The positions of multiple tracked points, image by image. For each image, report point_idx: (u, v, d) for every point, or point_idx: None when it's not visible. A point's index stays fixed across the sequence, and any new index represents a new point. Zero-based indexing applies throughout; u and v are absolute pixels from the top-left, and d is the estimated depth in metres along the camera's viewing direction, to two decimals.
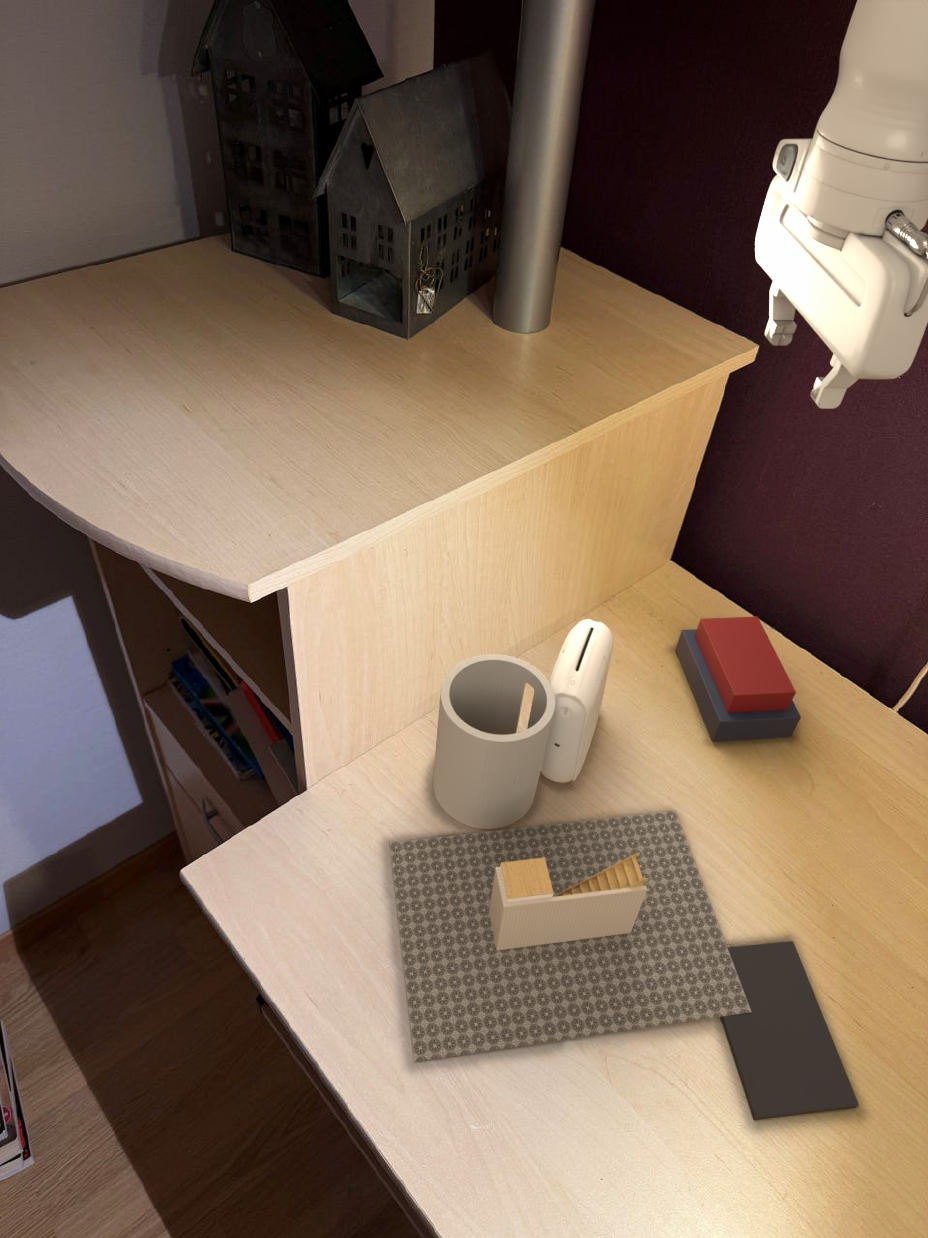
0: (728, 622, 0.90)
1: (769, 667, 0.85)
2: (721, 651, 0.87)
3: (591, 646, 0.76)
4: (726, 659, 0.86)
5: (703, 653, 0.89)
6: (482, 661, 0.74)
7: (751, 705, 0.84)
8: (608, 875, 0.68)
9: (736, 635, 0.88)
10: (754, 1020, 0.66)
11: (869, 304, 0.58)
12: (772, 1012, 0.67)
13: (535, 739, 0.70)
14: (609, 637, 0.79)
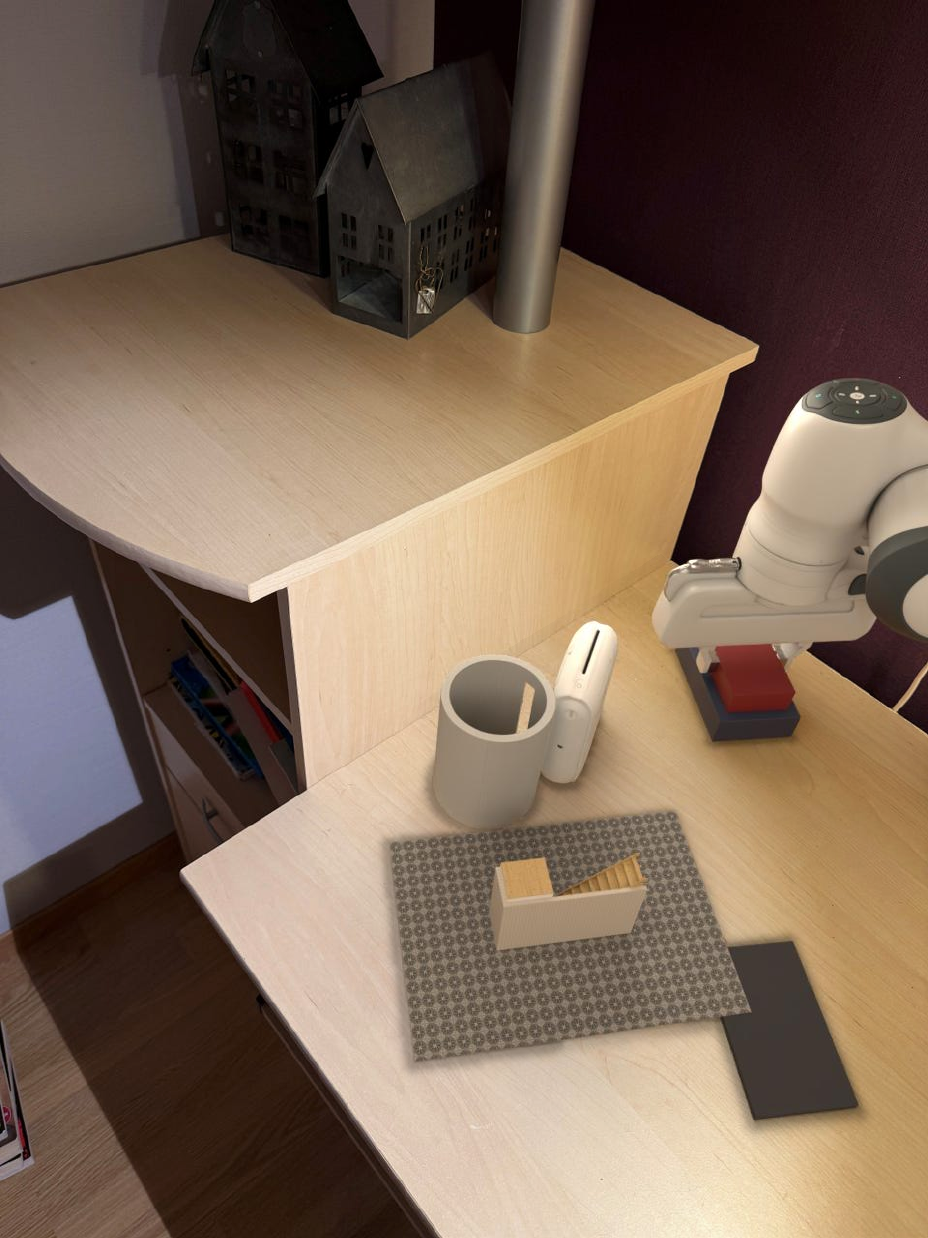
0: None
1: (768, 667, 0.85)
2: (721, 651, 0.87)
3: (598, 649, 0.76)
4: (726, 659, 0.86)
5: None
6: (482, 661, 0.74)
7: (751, 705, 0.84)
8: (608, 875, 0.68)
9: None
10: (754, 1020, 0.66)
11: None
12: (772, 1012, 0.67)
13: (535, 739, 0.70)
14: (615, 640, 0.79)
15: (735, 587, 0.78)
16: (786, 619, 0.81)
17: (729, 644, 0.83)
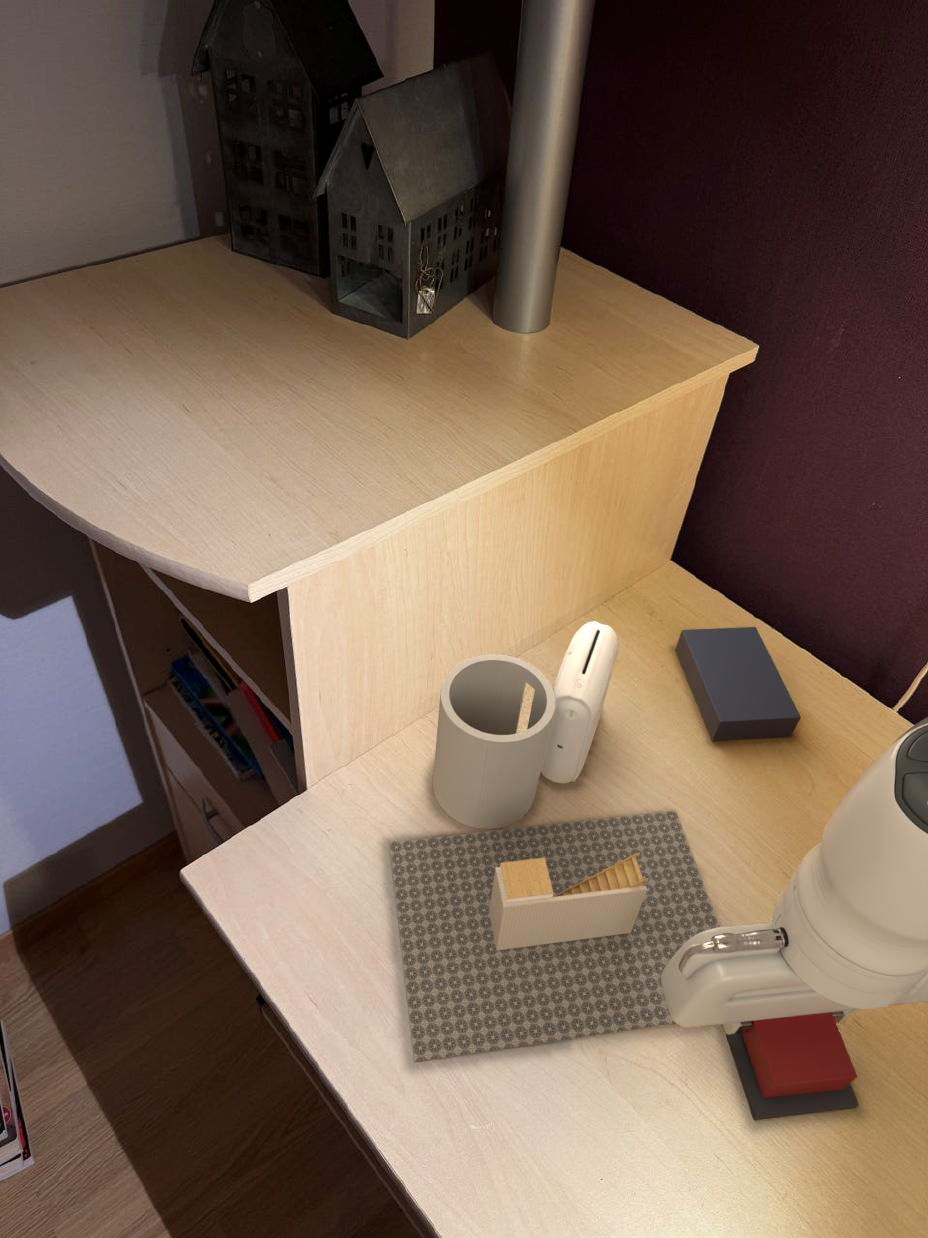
0: None
1: (819, 1031, 0.63)
2: None
3: (598, 649, 0.76)
4: None
5: None
6: (482, 661, 0.74)
7: (796, 1090, 0.62)
8: (608, 875, 0.68)
9: None
10: None
11: None
12: None
13: (535, 739, 0.70)
14: (615, 640, 0.79)
15: (779, 971, 0.55)
16: None
17: None
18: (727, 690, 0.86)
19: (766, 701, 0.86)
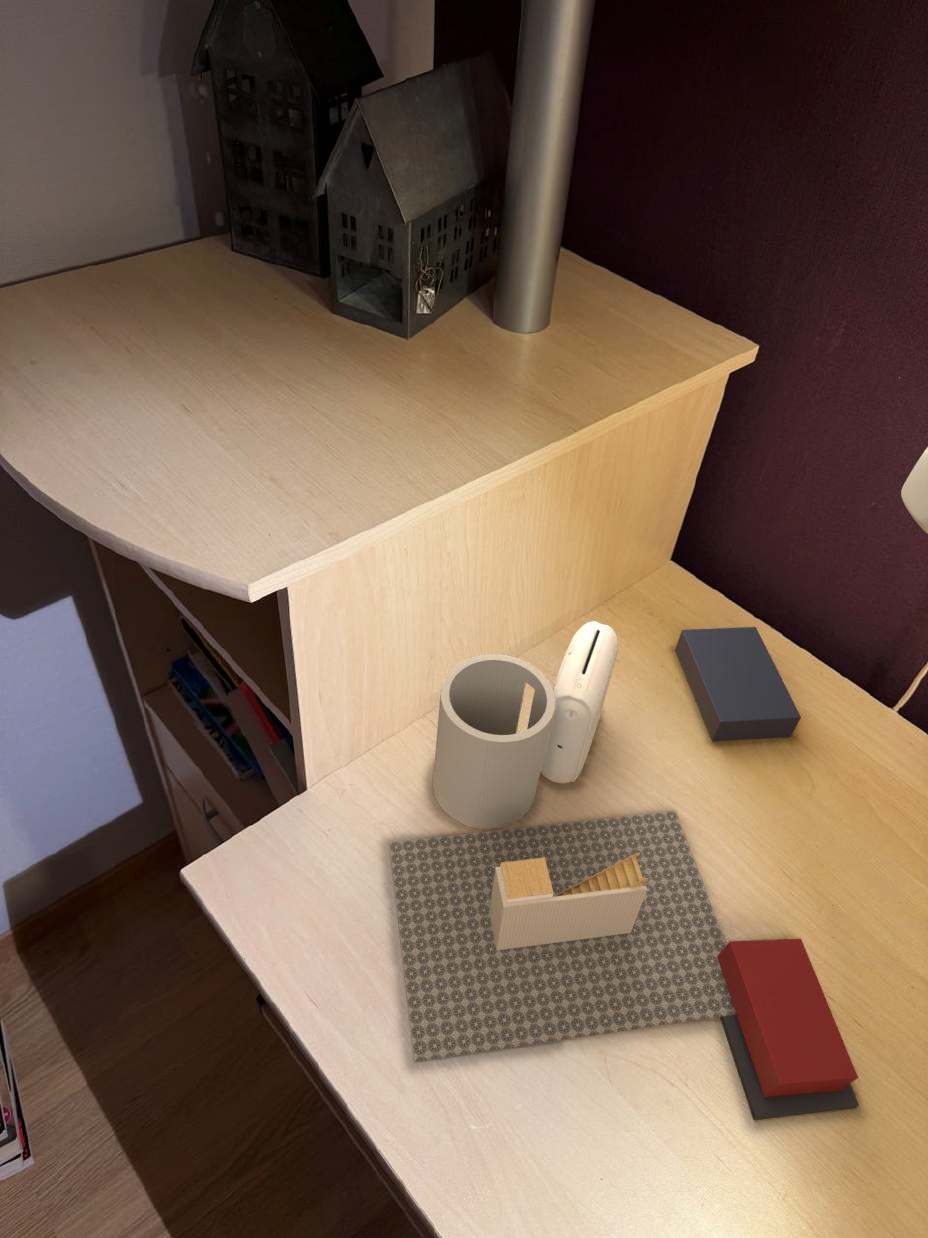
0: (765, 949, 0.67)
1: (821, 1032, 0.64)
2: (758, 1001, 0.64)
3: (598, 649, 0.76)
4: (766, 1016, 0.64)
5: (730, 990, 0.67)
6: (482, 661, 0.74)
7: (797, 1090, 0.62)
8: (608, 875, 0.68)
9: (777, 972, 0.66)
10: None
11: None
12: None
13: (535, 739, 0.70)
14: (615, 640, 0.79)
15: None
16: None
17: None
18: (727, 690, 0.86)
19: (766, 701, 0.86)
